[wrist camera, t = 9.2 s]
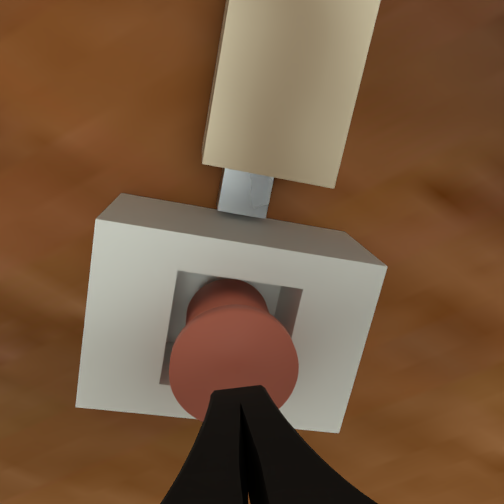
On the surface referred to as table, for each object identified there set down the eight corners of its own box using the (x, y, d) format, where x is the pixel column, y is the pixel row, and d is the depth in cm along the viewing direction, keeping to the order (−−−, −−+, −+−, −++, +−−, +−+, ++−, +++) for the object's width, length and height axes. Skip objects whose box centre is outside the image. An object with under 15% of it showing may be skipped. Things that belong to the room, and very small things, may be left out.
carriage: (328, 14, 18) (388, -33, 12) (294, 166, 19) (334, 188, 14) (228, -11, 17) (241, -74, 11) (201, 148, 19) (201, 163, 13)
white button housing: (344, 231, 21) (387, 266, 16) (309, 366, 23) (338, 433, 18) (121, 192, 19) (95, 218, 14) (103, 340, 21) (75, 406, 16)
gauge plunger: (287, 277, 18) (311, 322, 14) (266, 367, 19) (283, 432, 15) (184, 261, 17) (179, 303, 13) (168, 356, 18) (160, 420, 14)
